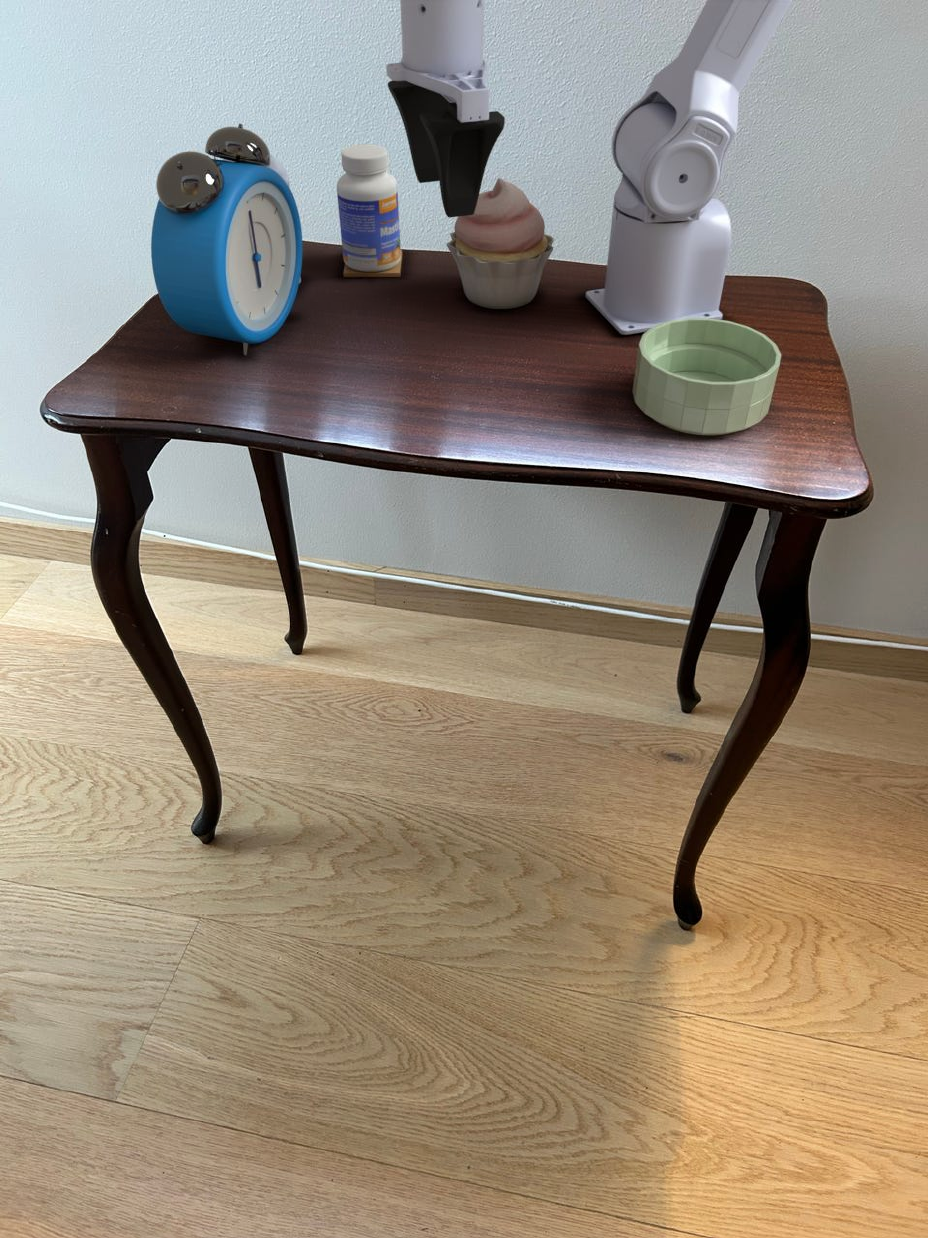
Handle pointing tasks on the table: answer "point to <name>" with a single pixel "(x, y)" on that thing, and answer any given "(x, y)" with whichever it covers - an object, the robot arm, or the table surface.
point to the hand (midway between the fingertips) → (444, 196)
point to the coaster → (386, 273)
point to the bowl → (705, 375)
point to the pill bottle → (368, 210)
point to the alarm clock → (226, 240)
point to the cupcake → (501, 248)
